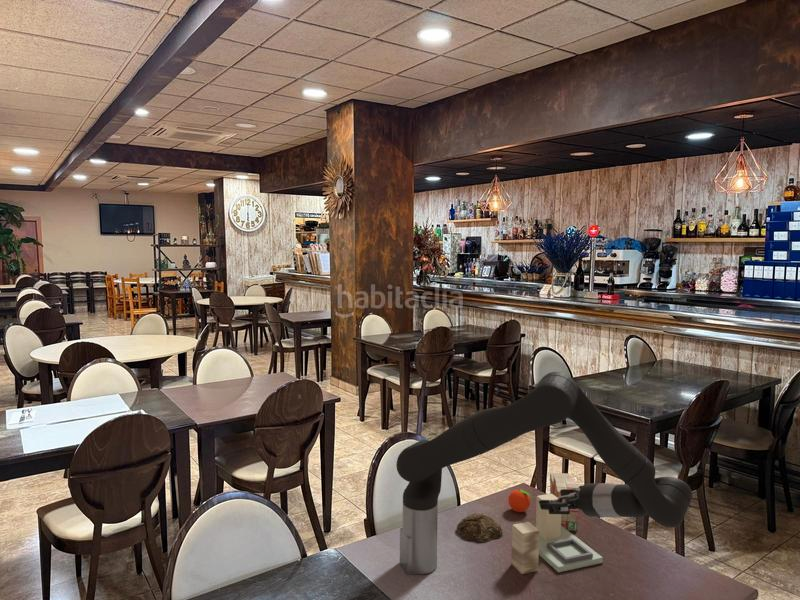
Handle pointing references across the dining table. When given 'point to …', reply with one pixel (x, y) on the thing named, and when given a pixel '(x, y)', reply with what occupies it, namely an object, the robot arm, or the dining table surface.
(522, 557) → the maple pillar
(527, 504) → the clementine
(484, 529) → the bread roll
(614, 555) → the dining table surface
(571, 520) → the stack of blocks
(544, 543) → the baseplate
